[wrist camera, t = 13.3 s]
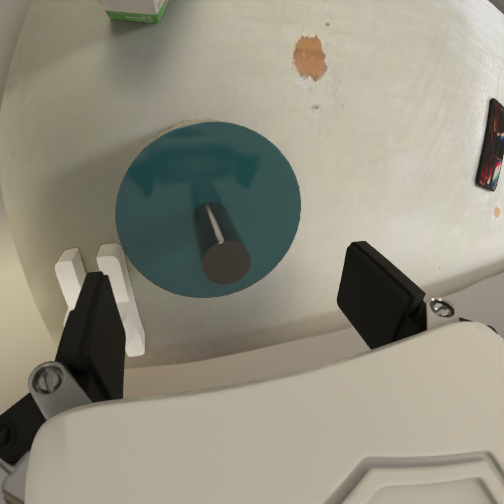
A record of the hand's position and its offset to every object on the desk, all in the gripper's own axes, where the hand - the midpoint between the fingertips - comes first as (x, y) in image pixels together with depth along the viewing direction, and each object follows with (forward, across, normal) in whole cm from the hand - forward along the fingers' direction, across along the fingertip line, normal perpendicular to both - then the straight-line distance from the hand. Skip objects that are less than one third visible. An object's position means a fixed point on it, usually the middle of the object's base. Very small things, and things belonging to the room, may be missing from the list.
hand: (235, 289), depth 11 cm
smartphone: (+17, -46, -6) cm, 49 cm away
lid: (+10, 0, +1) cm, 10 cm away
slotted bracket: (+18, +11, +12) cm, 24 cm away
